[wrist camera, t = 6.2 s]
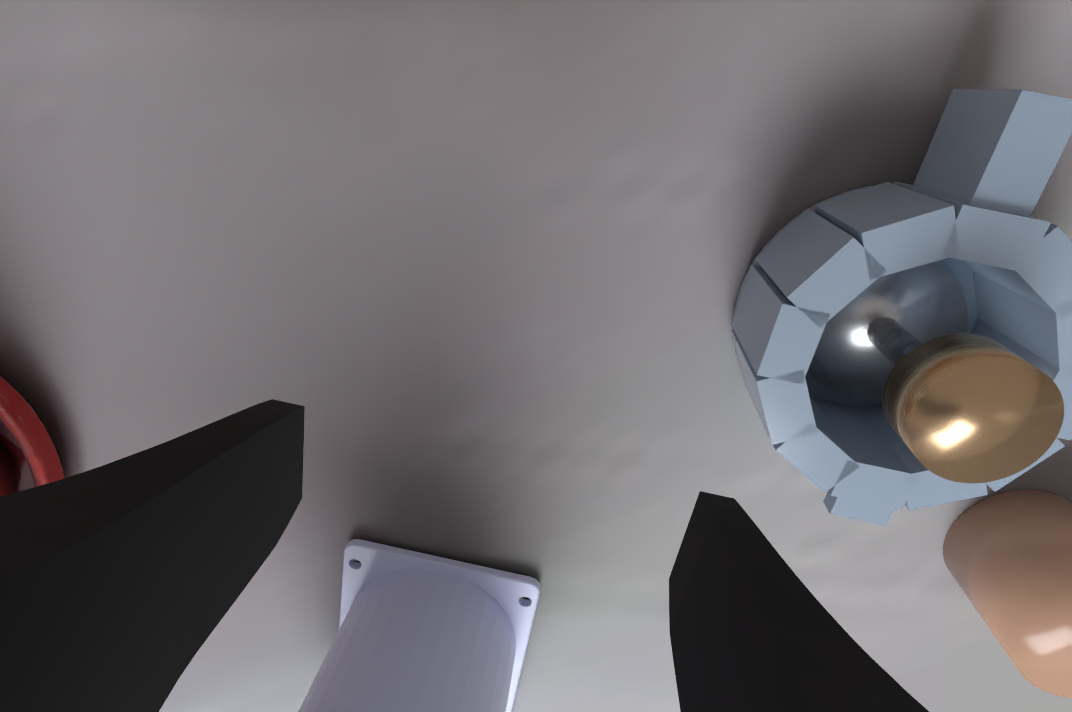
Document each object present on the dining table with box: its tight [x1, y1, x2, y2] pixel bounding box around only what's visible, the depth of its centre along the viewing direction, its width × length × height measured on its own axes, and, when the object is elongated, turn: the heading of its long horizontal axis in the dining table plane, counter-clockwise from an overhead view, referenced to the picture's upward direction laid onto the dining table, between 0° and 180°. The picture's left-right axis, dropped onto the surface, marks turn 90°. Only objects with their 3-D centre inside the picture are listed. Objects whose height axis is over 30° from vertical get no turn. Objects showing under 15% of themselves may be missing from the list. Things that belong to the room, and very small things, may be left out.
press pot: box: [731, 89, 1072, 526], centre depth 18 cm, size 11×8×4 cm
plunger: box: [809, 262, 1064, 483], centre depth 16 cm, size 5×5×6 cm
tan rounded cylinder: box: [943, 489, 1072, 698], centre depth 20 cm, size 5×5×4 cm
